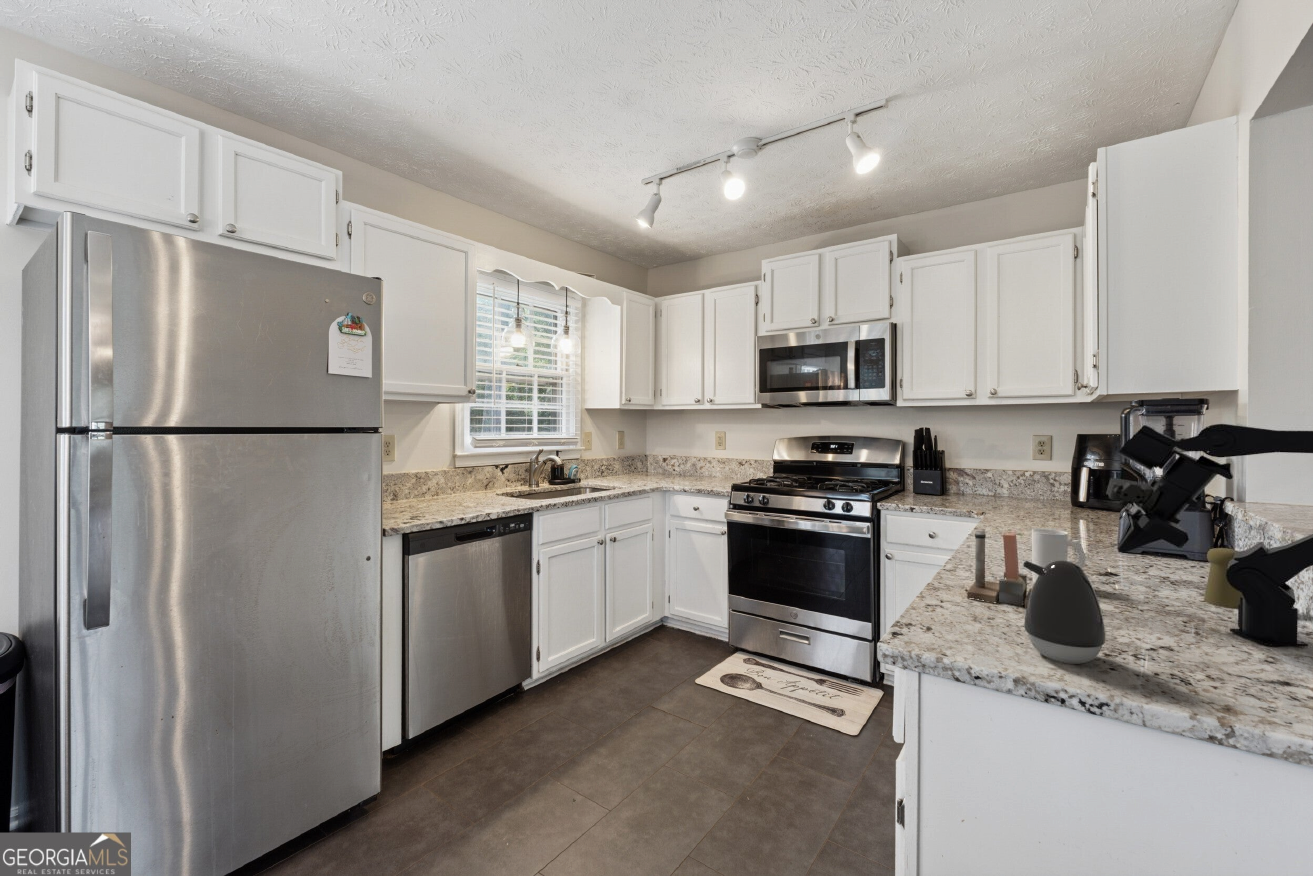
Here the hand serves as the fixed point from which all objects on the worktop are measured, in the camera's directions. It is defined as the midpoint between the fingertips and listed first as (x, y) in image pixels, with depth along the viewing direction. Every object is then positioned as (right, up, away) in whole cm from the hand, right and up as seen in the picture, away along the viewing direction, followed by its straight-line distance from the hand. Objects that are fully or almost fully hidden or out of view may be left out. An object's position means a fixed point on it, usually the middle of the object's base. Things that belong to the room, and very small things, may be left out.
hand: (1120, 550), depth 106 cm
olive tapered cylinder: (+25, -12, +4) cm, 28 cm away
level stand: (-15, -12, +9) cm, 21 cm away
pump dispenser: (-26, -13, -20) cm, 35 cm away
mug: (+1, -12, +17) cm, 21 cm away
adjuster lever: (-15, -11, +9) cm, 21 cm away
